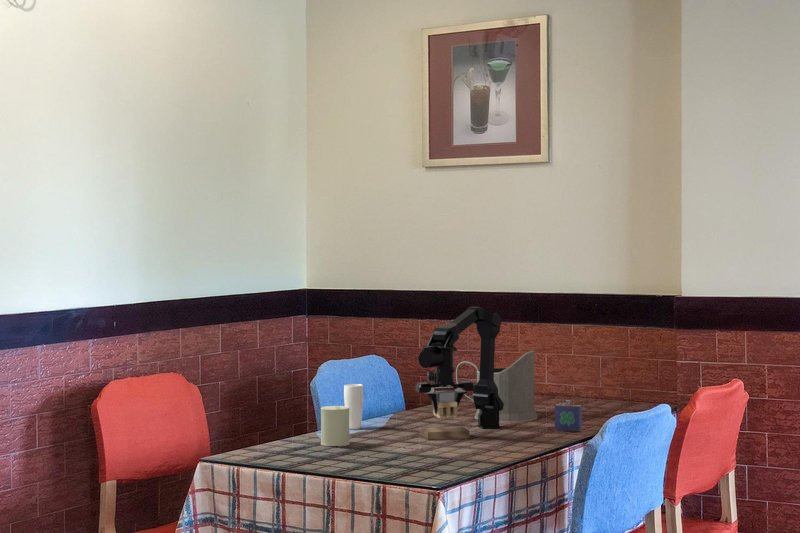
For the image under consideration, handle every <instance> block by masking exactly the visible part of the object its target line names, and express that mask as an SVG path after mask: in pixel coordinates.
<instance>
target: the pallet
mask: <svg viewBox="0 0 800 533" xmlns="http://www.w3.org/2000/svg"><path fill="white" fill-rule="evenodd" d="M432 414H433V416H434V417H435V418H438V419H444V418H446V419H451V418H455V419H456V418H458V408H457V402H456V401H454V402H438V401H437V414H435V412H434V409H433V408H432Z"/></svg>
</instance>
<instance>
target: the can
mask: <svg viewBox="0 0 800 533" xmlns="http://www.w3.org/2000/svg"><path fill="white" fill-rule="evenodd" d="M320 423H321V424H320V425H321V430H320V434H321V435H320V438H321V440H320V445H321V446H323V447H330V446H338V447H346V446H349V445H351V442H350V429H349V407H347V406H345V405H326V406H321V408H320Z"/></svg>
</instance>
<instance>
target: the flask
mask: <svg viewBox="0 0 800 533" xmlns="http://www.w3.org/2000/svg"><path fill="white" fill-rule="evenodd" d="M565 401H566V402H562V403H561V402H560V403H558V404H557V403H556V404H555V405H554V432H561V433H582V432H583V420H582V419H583V406H582V405H581V404H577V405H576V404H571V402H572V401H571V400H570V399H566V400H565Z"/></svg>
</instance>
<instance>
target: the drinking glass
mask: <svg viewBox="0 0 800 533" xmlns="http://www.w3.org/2000/svg"><path fill="white" fill-rule="evenodd" d="M343 402H344V406H347V407H349V430H359V429H362V420H363V408H364V407H363V406H364V385H363V384H361V383H359V384H358V383H348V384H344V385H343Z"/></svg>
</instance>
